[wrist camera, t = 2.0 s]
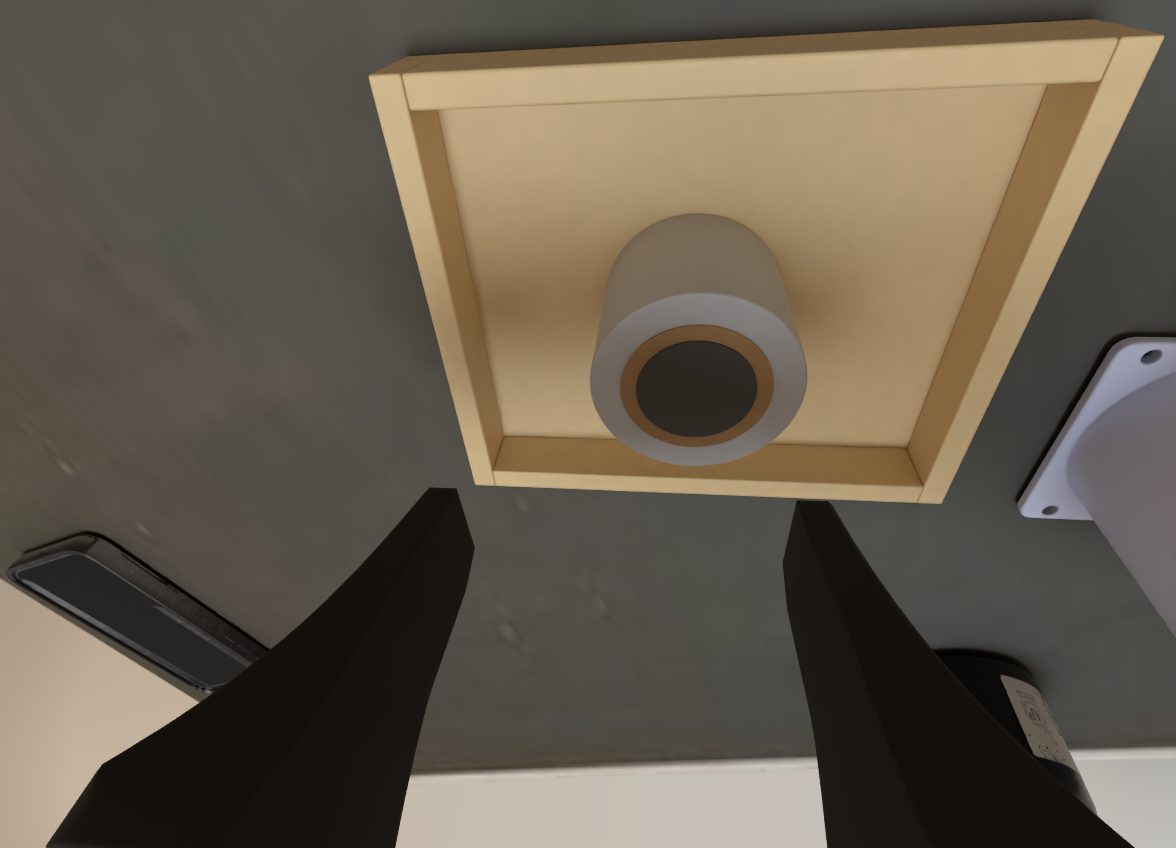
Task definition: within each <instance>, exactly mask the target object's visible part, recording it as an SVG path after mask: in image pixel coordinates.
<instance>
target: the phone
mask: <svg viewBox="0 0 1176 848" xmlns="http://www.w3.org/2000/svg"><path fill="white" fill-rule="evenodd" d="M6 575H7V577H8V578H9V579H10V580H12V581H13V582H14V583H16V584H17V585H19V586H21V587H23V588H24V589H26V590H28V591H29V592H31V593H33V594H34V595H36V596H38V597H40V598H41V599H43V600H45V601H46V602H48V603H50V604H52V605H53V606H55V607H57V608H58V609H60V610H62V611H63V612H65V613H67V614H69V615H70V616H72V617H74V618H75V619H77V620H79V621H80V622H82V623H84V624H86V625H87V626H89V627H91V628H92V629H94V630H96V631H97V632H99V633H101V634H103V635H104V636H106V637H108V638H109V639H111V640H113V641H114V642H116V643H118V644H120V645H121V646H123V647H125V648H126V649H128V650H130V651H131V652H133V653H135V654H137V655H138V656H140V657H142V658H143V659H145V660H147V661H148V662H150V663H152V664H154V665H155V666H157V667H159V668H160V669H162V670H164V671H165V672H167V673H169V674H171V675H172V676H174V677H176V678H177V679H179V680H181V681H182V682H184V683H186V684H188V685H189V686H191V687H193V688H195V689H197V690H200V691H203V692H208V693H214V692H215V691H217V690H218V689H220V688H221V687H222V686H224V685H225V684H227V683H228V682H230V681H231V680H232V679H234V678H235V677H236V676H238V675H239V674H240V673H241V672H243V671H244V670H245V669H247V668H248V667H249V666H250V665H252V664H253V663H254V662H255V661H257V660H258V659H259V658H261V657H262V656H263V655H264V654H266V653H267V651H266V650H264V649H263V648H261V647H260V646H258V645H257V644H256V643H254V642H253V641H251V640H250V639H248V638H247V637H245V636H244V635H243V634H241V633H240V632H238V631H237V630H235V629H234V628H232V627H231V626H229V625H228V624H227V623H225V622H224V621H222V620H221V619H219V618H218V617H216V616H215V615H214V614H212V613H211V612H209V611H208V610H206V609H205V608H203V607H202V606H200V605H199V604H198V603H196V602H195V601H193V600H192V599H190V598H189V597H187V596H186V595H184V594H183V593H182V592H180V591H179V590H177V589H176V588H174V587H173V586H171V585H170V584H168V583H167V582H166V581H164V580H163V579H161V578H160V577H158V576H157V575H155V574H154V573H153V572H151V571H150V570H148V569H147V568H145V567H144V566H142V565H141V564H139V563H138V562H137V561H135V560H134V559H132V558H131V557H129V556H128V555H126V554H125V553H123V552H122V551H121V550H119V549H118V548H116V547H115V546H113V545H112V544H110V543H109V542H107V541H105V540H103V539H101V538H99V537H96V536H93V535H88V534H80V535H76V536H74V537H71V538H68V539H65V540H62V541H59V542H56V543H53V544H50V545H47V546H45V547H42V548H39V549H36V550H33V551H30V552H27V553H24V554H23V555H22V556H21V557H20V558H19V559H18V560H17V561H15V562H14V563H13V564H12V565H11V566H10V567H9V568H8V569H7V570H6Z"/></svg>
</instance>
